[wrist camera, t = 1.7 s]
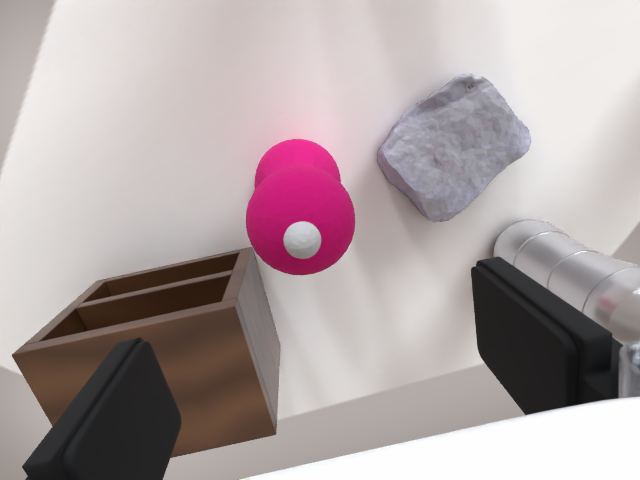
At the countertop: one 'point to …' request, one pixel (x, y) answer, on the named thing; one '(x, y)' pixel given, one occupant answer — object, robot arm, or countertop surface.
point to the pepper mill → (299, 209)
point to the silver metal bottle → (576, 275)
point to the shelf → (173, 346)
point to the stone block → (452, 146)
